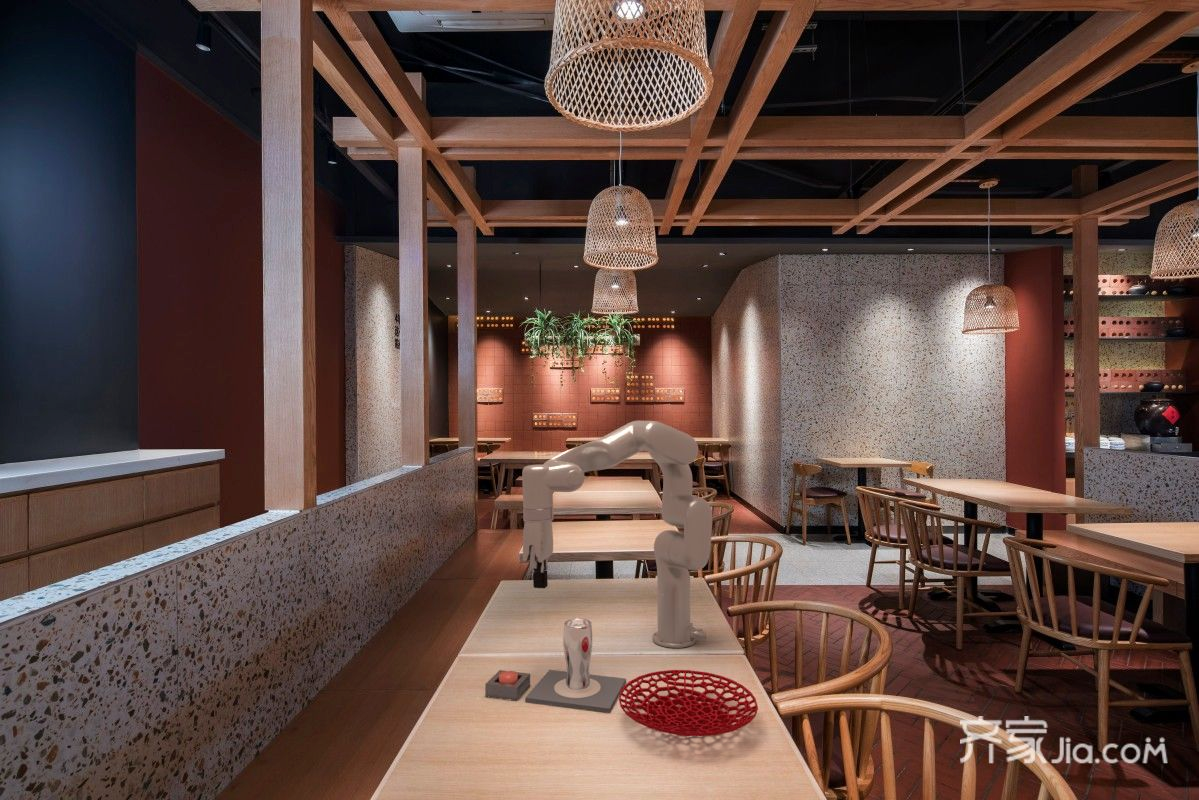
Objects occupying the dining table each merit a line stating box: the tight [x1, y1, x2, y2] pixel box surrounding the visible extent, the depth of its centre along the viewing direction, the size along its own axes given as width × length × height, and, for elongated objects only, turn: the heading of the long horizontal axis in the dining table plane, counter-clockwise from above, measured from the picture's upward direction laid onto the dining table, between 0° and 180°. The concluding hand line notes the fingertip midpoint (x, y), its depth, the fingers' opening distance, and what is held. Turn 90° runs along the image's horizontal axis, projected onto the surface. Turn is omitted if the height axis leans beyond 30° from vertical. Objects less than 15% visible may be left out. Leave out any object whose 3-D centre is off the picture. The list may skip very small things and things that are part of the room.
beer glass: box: [562, 618, 593, 692], centre depth 148 cm, size 7×7×15 cm
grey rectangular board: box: [524, 669, 627, 714], centre depth 147 cm, size 20×16×1 cm
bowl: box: [618, 669, 759, 737], centre depth 133 cm, size 30×30×5 cm
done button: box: [499, 670, 518, 684], centre depth 148 cm, size 4×4×3 cm
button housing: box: [484, 669, 531, 702], centre depth 148 cm, size 8×8×3 cm
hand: (540, 587), depth 156 cm, fingers closed
